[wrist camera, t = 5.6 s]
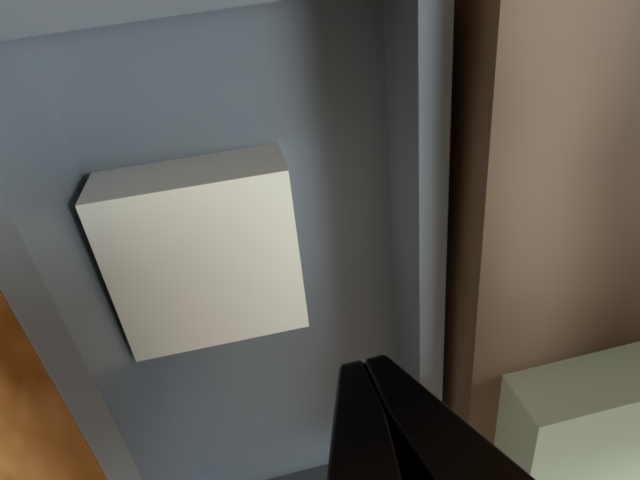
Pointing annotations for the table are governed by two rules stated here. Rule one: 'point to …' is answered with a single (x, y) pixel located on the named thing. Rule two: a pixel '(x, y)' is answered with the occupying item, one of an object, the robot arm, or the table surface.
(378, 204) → the box
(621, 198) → the taupe pedestal platform
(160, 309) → the cream tile
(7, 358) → the table surface
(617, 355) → the sage tile
